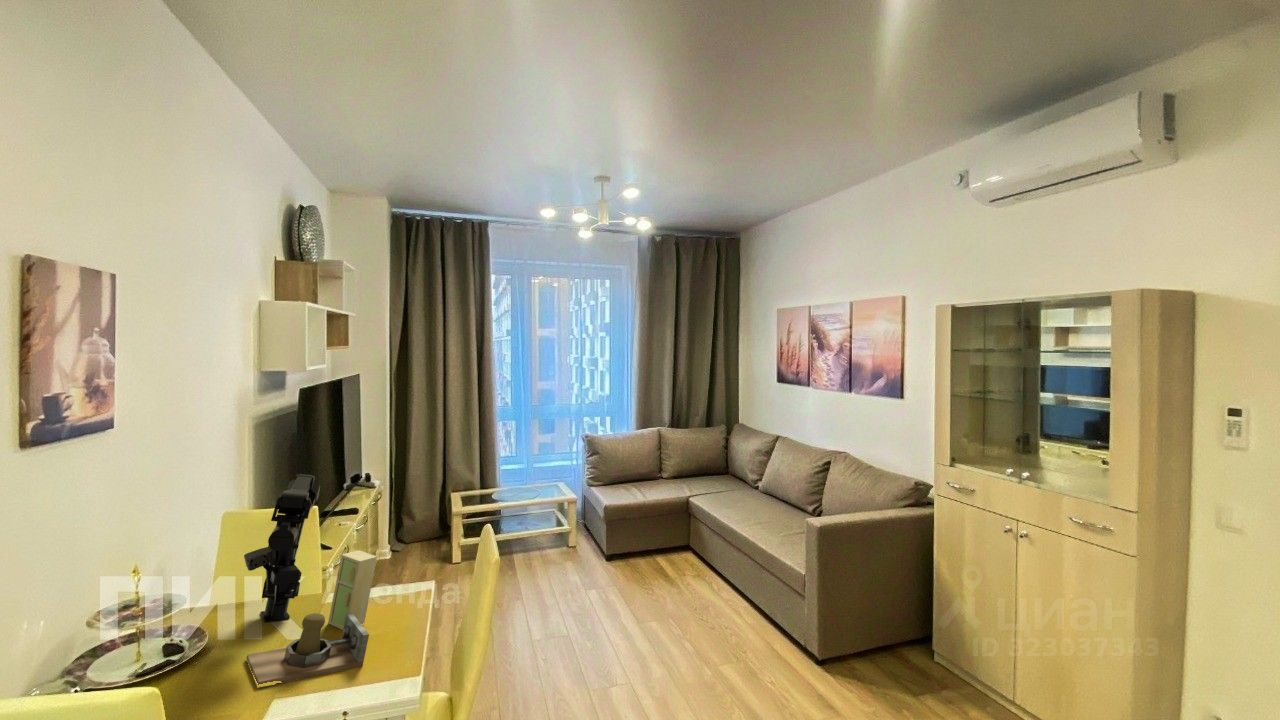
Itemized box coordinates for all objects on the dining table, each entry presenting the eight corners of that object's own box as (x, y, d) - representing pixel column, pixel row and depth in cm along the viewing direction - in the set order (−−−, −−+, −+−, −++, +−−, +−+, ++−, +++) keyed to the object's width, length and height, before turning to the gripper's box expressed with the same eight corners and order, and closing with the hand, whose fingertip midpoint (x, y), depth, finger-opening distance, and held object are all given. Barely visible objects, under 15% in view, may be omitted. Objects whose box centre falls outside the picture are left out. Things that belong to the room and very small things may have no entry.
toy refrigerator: (324, 624, 167) (339, 554, 169) (345, 616, 174) (359, 549, 175) (343, 633, 164) (358, 561, 166) (364, 625, 171) (378, 556, 172)
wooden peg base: (245, 660, 143) (253, 627, 143) (345, 642, 159) (352, 612, 160) (257, 688, 133) (265, 652, 133) (362, 666, 149) (369, 634, 150)
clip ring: (281, 652, 146) (285, 633, 146) (346, 641, 157) (349, 623, 158) (290, 670, 139) (294, 650, 140) (357, 657, 150) (361, 638, 151)
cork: (307, 666, 142) (316, 622, 143) (287, 659, 144) (296, 616, 144) (324, 655, 148) (333, 614, 149) (305, 649, 150) (314, 608, 150)
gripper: (243, 529, 154) (231, 586, 153) (258, 552, 140) (244, 615, 139) (289, 528, 161) (278, 582, 161) (307, 549, 148) (294, 608, 147)
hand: (273, 596), depth 152 cm, fingers open, 9 cm apart
